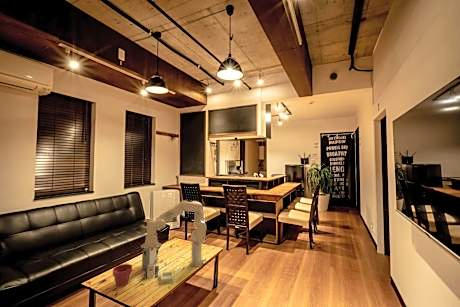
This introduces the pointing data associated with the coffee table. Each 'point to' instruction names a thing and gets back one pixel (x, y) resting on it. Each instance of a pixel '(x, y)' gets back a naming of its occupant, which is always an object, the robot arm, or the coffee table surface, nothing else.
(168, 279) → the tray
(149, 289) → the coffee table surface
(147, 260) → the hard drive box
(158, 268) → the bay
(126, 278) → the plant pot
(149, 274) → the capped cream block
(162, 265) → the coffee table surface
